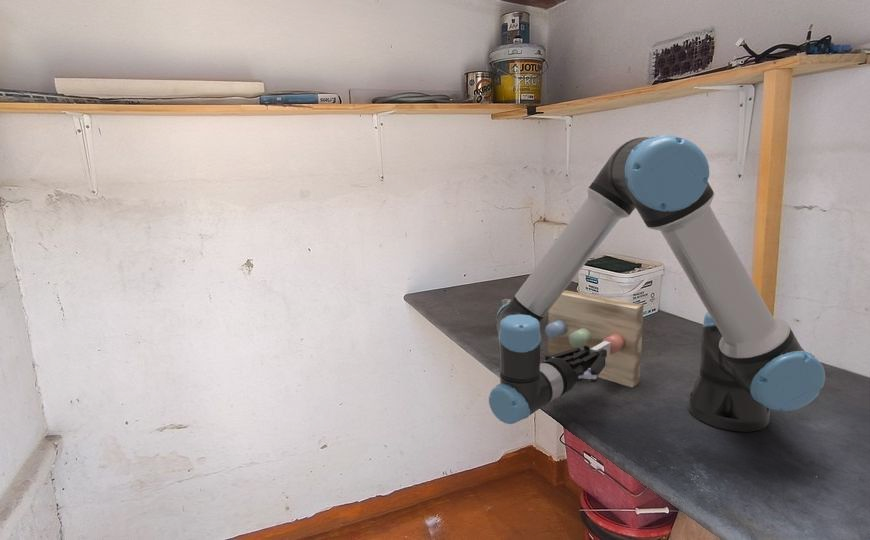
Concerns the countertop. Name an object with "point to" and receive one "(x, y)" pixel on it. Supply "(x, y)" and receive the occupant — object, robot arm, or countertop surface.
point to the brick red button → (615, 342)
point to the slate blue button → (556, 329)
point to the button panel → (602, 331)
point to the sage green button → (580, 338)
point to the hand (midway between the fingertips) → (607, 347)
